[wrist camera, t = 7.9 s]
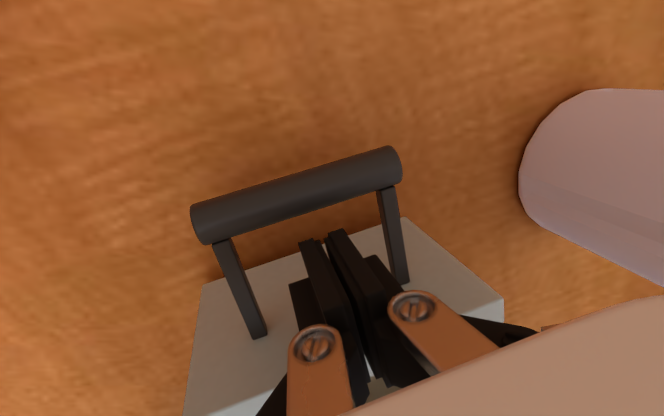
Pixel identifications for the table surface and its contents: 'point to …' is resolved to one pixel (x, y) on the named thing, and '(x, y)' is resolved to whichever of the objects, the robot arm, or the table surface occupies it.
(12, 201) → the table surface
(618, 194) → the soap bottle
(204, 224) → the drawer
